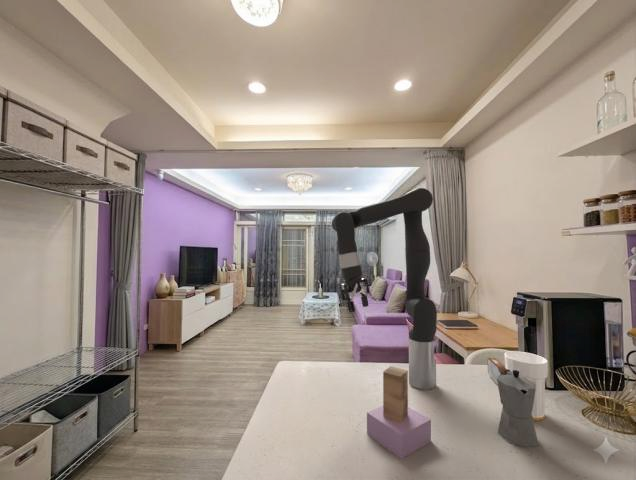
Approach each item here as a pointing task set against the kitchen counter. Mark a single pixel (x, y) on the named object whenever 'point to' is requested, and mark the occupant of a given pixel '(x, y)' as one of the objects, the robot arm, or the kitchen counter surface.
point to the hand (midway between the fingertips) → (359, 309)
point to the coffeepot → (517, 409)
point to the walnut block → (395, 394)
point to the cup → (530, 376)
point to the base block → (399, 431)
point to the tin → (495, 368)
